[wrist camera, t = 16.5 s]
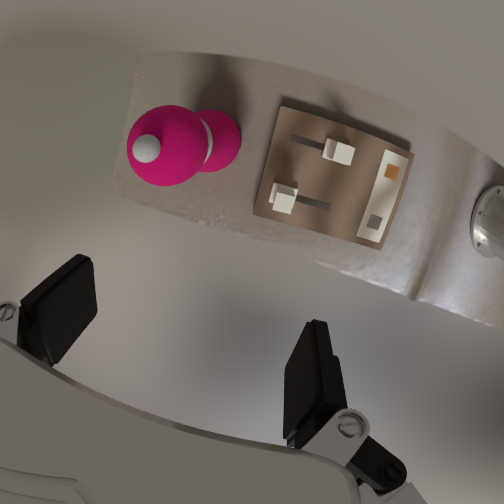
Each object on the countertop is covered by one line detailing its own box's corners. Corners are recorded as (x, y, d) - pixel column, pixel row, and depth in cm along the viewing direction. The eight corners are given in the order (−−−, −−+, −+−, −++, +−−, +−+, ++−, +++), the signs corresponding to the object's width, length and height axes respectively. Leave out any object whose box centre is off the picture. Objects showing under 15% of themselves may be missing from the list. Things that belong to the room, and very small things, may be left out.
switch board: (409, 153, 30) (415, 154, 29) (377, 246, 36) (380, 250, 35) (280, 106, 30) (280, 105, 28) (253, 211, 36) (252, 214, 34)
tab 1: (297, 188, 32) (300, 196, 28) (292, 207, 33) (294, 217, 29) (273, 182, 32) (272, 189, 28) (268, 200, 33) (267, 210, 29)
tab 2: (350, 146, 29) (360, 148, 26) (344, 164, 30) (353, 168, 27) (326, 138, 29) (333, 138, 25) (321, 156, 30) (327, 160, 26)
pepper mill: (243, 109, 30) (193, 78, 12) (247, 165, 33) (204, 204, 15) (187, 116, 31) (88, 107, 13) (192, 170, 34) (102, 213, 16)
